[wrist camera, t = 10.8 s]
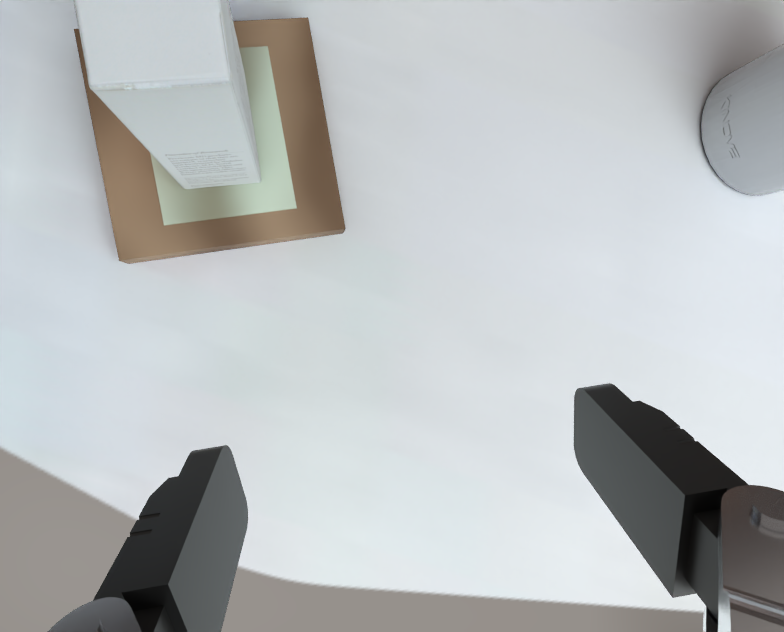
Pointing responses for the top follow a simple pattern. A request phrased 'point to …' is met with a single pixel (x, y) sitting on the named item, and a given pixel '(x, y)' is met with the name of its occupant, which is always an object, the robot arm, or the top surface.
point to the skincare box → (174, 84)
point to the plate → (234, 202)
